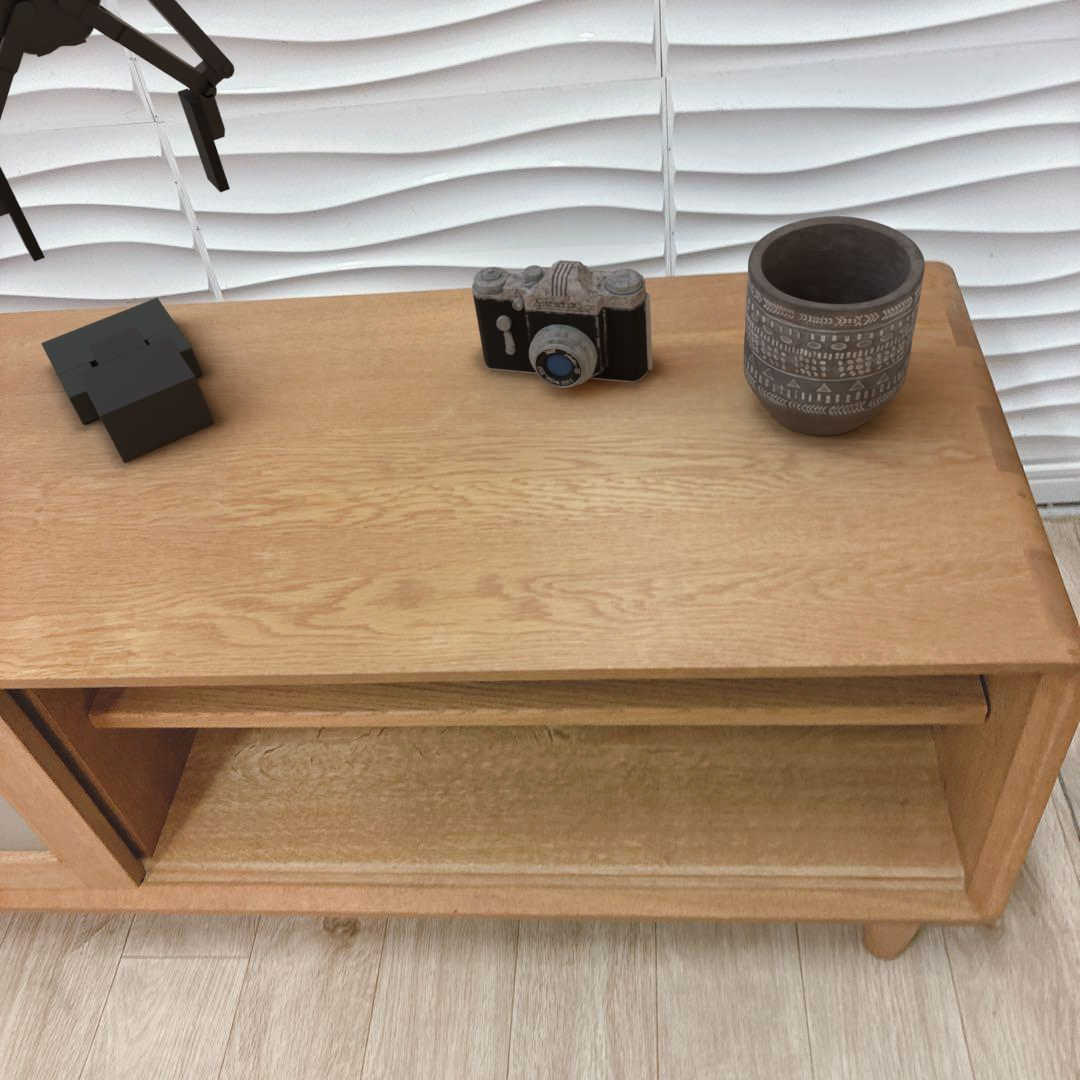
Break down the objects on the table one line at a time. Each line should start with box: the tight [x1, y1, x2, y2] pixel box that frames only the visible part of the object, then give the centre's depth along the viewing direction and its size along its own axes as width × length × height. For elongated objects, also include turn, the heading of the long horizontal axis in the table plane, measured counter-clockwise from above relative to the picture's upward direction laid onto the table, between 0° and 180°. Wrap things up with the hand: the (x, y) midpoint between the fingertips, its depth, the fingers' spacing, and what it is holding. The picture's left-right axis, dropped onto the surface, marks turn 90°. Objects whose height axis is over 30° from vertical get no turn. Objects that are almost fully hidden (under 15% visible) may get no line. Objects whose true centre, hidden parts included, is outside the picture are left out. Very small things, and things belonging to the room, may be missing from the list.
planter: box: [743, 215, 926, 437], centre depth 80 cm, size 12×12×13 cm
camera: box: [471, 259, 653, 389], centre depth 87 cm, size 15×7×10 cm, turn 74°
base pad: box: [41, 297, 204, 425], centre depth 96 cm, size 11×10×3 cm
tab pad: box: [78, 327, 215, 463], centre depth 91 cm, size 8×11×5 cm
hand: (129, 217), depth 76 cm, fingers open, 13 cm apart
